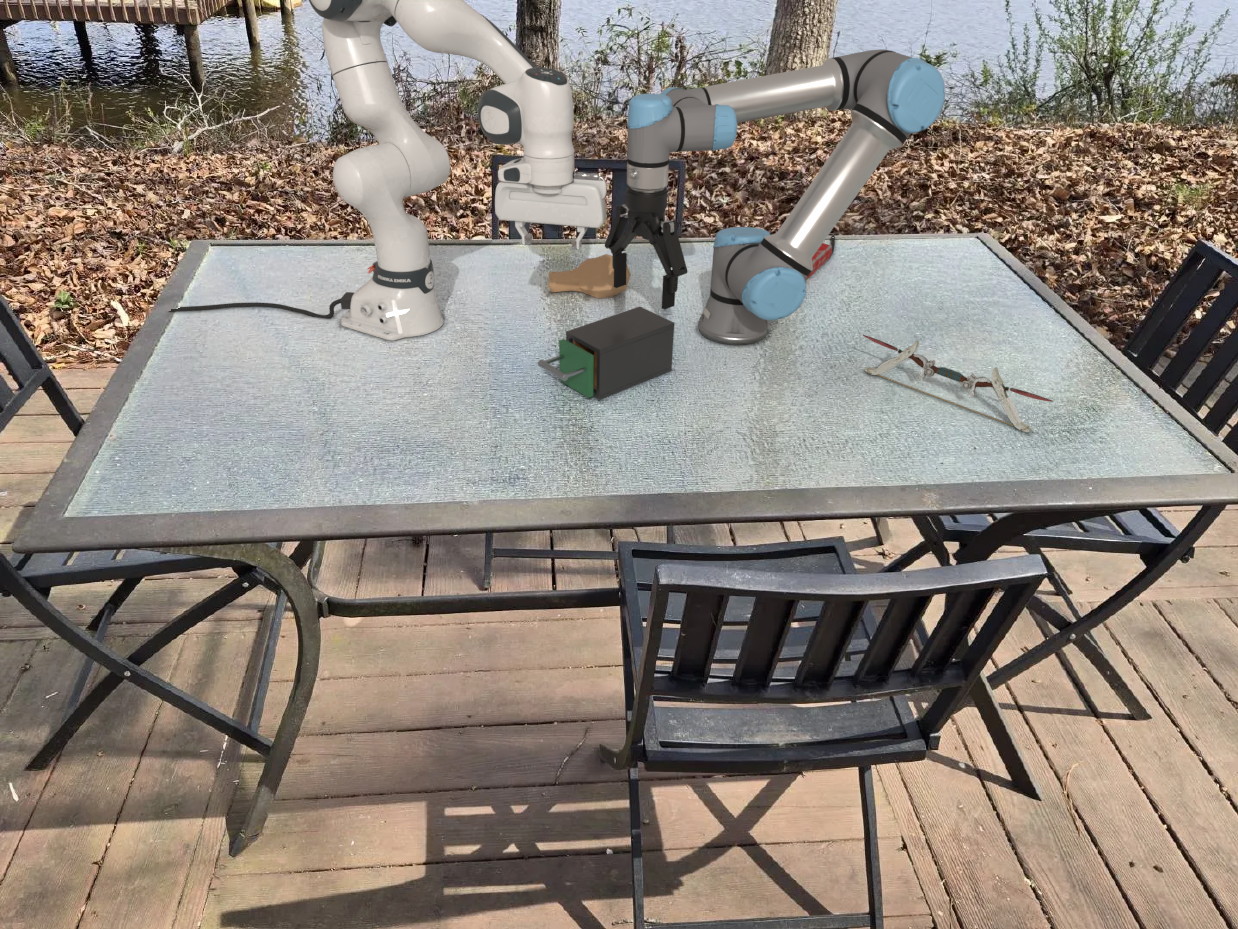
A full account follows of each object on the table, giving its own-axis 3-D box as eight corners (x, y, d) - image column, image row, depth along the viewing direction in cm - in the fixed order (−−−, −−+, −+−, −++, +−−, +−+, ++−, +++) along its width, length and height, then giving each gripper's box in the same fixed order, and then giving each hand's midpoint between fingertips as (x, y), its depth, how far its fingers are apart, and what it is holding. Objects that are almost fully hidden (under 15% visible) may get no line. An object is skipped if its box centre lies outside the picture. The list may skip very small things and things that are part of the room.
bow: (1043, 434, 162) (1060, 387, 156) (1039, 438, 161) (1056, 390, 155) (858, 366, 183) (867, 322, 178) (854, 369, 182) (862, 324, 177)
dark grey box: (599, 400, 169) (600, 349, 163) (566, 380, 175) (565, 331, 169) (671, 370, 180) (674, 322, 174) (638, 353, 186) (639, 306, 180)
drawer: (565, 407, 164) (565, 365, 160) (536, 389, 170) (535, 348, 165) (657, 370, 178) (659, 330, 173) (627, 354, 183) (629, 315, 178)
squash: (632, 302, 209) (628, 269, 203) (549, 309, 210) (543, 277, 204) (632, 277, 217) (628, 245, 210) (552, 285, 218) (546, 253, 212)
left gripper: (611, 169, 155) (610, 245, 162) (501, 161, 158) (505, 236, 166) (602, 178, 149) (602, 257, 157) (489, 170, 153) (494, 247, 161)
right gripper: (586, 175, 165) (587, 281, 176) (681, 207, 149) (675, 322, 161) (616, 168, 169) (614, 273, 181) (711, 198, 154) (703, 311, 165)
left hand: (551, 246), depth 161 cm, fingers open, 8 cm apart
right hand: (643, 296), depth 171 cm, fingers open, 13 cm apart
